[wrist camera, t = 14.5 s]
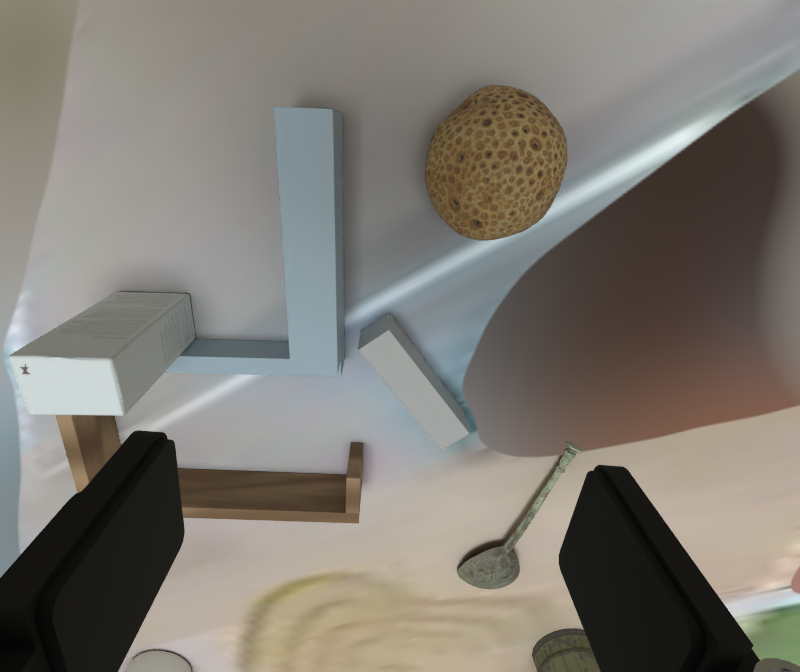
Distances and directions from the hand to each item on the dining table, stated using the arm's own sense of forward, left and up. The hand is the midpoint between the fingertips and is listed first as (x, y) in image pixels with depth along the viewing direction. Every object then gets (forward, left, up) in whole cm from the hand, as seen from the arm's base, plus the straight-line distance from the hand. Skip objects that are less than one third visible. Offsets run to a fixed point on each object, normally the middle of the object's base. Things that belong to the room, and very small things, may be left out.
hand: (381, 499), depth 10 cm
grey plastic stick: (+12, +3, -28) cm, 31 cm away
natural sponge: (-6, +7, -28) cm, 30 cm away
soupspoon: (+29, +16, -29) cm, 44 cm away
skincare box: (+8, -19, -28) cm, 35 cm away
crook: (+1, -13, -28) cm, 31 cm away
